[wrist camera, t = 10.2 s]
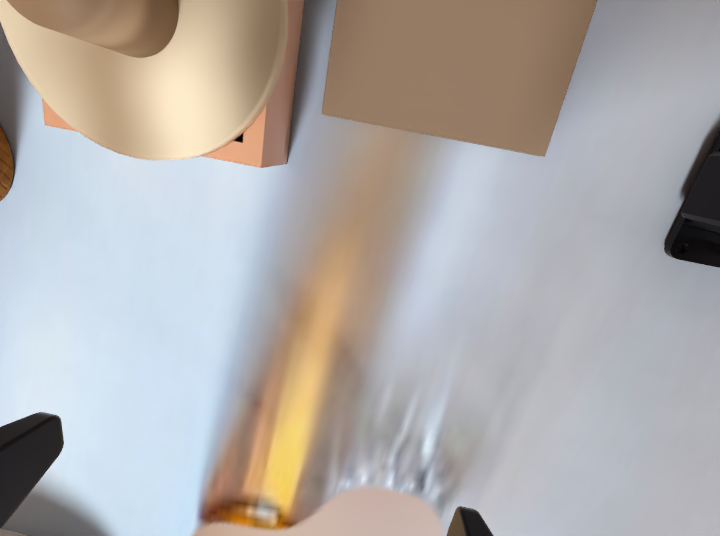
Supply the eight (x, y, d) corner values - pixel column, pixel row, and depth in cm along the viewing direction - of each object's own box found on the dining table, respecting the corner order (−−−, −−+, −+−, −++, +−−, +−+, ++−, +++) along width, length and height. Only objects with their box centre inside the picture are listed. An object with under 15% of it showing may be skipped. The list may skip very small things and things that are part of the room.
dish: (311, -64, 15) (286, -125, 11) (286, 163, 18) (261, 167, 14) (99, -101, 15) (14, -171, 12) (109, 129, 18) (44, 125, 15)
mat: (634, -129, 13) (644, -141, 13) (539, 156, 16) (544, 156, 16) (363, -173, 13) (362, -187, 13) (324, 114, 17) (321, 113, 16)
